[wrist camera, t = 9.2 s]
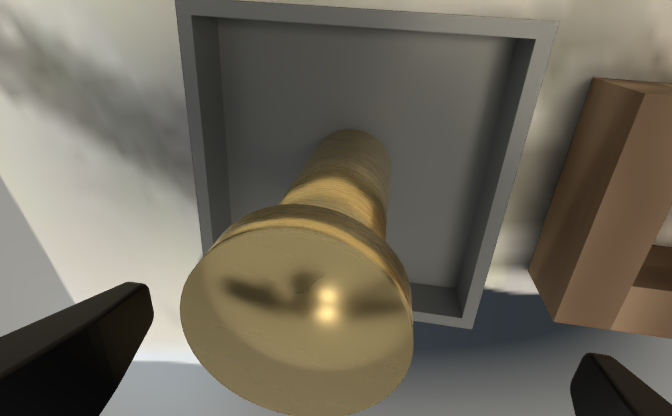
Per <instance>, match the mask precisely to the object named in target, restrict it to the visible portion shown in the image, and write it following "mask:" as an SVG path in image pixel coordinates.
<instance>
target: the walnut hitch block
mask: <svg viewBox="0 0 672 416" xmlns="http://www.w3.org/2000/svg"><path fill="white" fill-rule="evenodd" d="M671 206H672V83H659V82H646V81H633V80H621V79H608V78H595V77H593V80H592V82H591V85H590V88H589V91H588V94H587V97H586V100H585V103H584V106H583V109H582V112H581V115H580V118H579V121H578V124H577V127H576V130H575V133H574V136H573V139H572V141H571V144H570V147H569V150H568V153H567V156H566V159H565V162H564V165H563V168H562V171H561V174H560V177H559V180H558V183H557V186H556V189H555V192H554V195H553V198H552V200H551V203H550V206H549V209H548V212H547V215H546V218H545V221H544V224H543V227H542V230H541V233H540V236H539V239H538V242H537V245H536V248H535V251H534V254H533V257H532V259H531V262H530V265H529V268H528V272H529V274H530V276H531V278H532V280H533V282H534V284H535V286H536V288H537V290H538V292H539V294H540V296H541V298H542V300H543V302H544V304H545V306H546V308H547V310H548V312H549V314H550V316H551V318H552V320H553V321H554V322H559V323H566V324H573V325H580V326H587V327H594V328H601V329H608V330H615V331H622V332H629V333H636V334H643V335H650V336H657V337H664V338H671V339H672V248H671V247H662V246H654V245H652V244H653V242H654V240H655V238H656V236H657V234H658V232H659V230H660V228H661V226H662V224H663V222H664V220H665V218H666V216H667V214H668V212H669V210H670V208H671Z"/></svg>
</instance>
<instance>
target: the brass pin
mask: <svg viewBox="0 0 672 416" xmlns="http://www.w3.org/2000/svg"><path fill="white" fill-rule="evenodd" d="M390 176H391V162H390V158H389V155H388V153H387V151H386V149H385V147H384V146H383V145H382V143H381V142H380V141H379V140H378V139H376V138H375V137H374V136H372V135H371V134H369V133H367V132H364V131H361V130H357V129H342V130H338V131H335V132H332V133H331V134H329V135H327V136H326V137H324V138H323V139H322V140H321V141H320V142H319V144H318V145H317V146H316V148H315V149H314V151H313V152H312V154H311V155H310V157H309V158H308V160H307V161H306V163H305V165H304V166H303V168H302V169H301V171H300V172H299V174H298V175H297V177H296V178H295V180H294V181H293V183H292V184H291V186H290V187H289V189H288V190H287V192H286V193H285V195H284V196H283V198H282V200H281V201H280V203H279V204H278V205H275V206H270V207H265V208H262V209H259V210H256V211H253V212H251V213H249V214H247V215H245V216H243V217H241V218H240V219H239V220H237V221H236V222H234V223H233V224H232V225H231V226H230V227H229V228H228V229H227V230H225V231H224V232H223V234H222V235H221V236H220V237H219V239H218V240H217V241H216V242H215V243H214V245H213V246H212V247H211V248H210V249H209V251H208V252H207V253H206V254H205V256H204V257H203V258H202V259H201V260H200V262H199V263H198V264H197V265H196V267H195V268H194V269H193V271H192V272H191V273H190V275H189V276H188V279H187V281H186V283H185V285H184V288H183V291H182V295H181V301H180V317H181V323H182V328H183V332H184V334H185V337H186V339H187V342H188V344H189V346H190V348H191V349H192V351H193V353H194V355H195V356H196V357H197V359H198V360H199V362H200V363H201V364H202V365H203V366H204V367H205V369H206V370H207V371H208V372H209V373H210V374H211V375H212V376H213V377H214V378H215V379H216V380H218V381H219V382H220V383H221V384H223V385H224V386H225V387H227V388H228V389H229V390H231V391H232V392H234V393H235V394H237V395H239V396H240V397H242V398H244V399H246V400H248V401H250V402H252V403H254V404H256V405H259V406H261V407H264V408H266V409H269V410H273V411H276V412H280V413H283V414H288V415H293V416H345V415H348V414H353V413H357V412H359V411H362V410H365V409H367V408H369V407H371V406H373V405H375V404H377V403H379V402H380V401H382V400H383V399H385V398H386V397H387V396H389V395H390V394H391V393H392V392H393V391H394V390H395V389H396V388H397V387H398V385H399V384H400V383H401V381H402V380H403V379H404V377H405V375H406V373H407V371H408V369H409V366H410V363H411V359H412V353H413V317H412V294H411V287H410V283H409V279H408V276H407V274H406V271H405V269H404V267H403V265H402V263H401V261H400V260H399V258H398V256H397V255H396V254H395V252H394V251H393V250H392V248H391V247H390V246H389V245H388V244H387V243H386V229H387V215H388V202H389V189H390Z"/></svg>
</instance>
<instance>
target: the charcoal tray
mask: <svg viewBox="0 0 672 416" xmlns="http://www.w3.org/2000/svg"><path fill="white" fill-rule="evenodd" d="M175 6H176V15H177V24H178V33H179V42H180V51H181V60H182V69H183V78H184V87H185V96H186V105H187V114H188V123H189V132H190V141H191V150H192V159H193V168H194V177H195V186H196V195H197V204H198V213H199V222H200V231H201V240H202V249H203V257H204V256H205V254H206V253H207V252H208V251H209V249H210V248H211V247H212V246H213V245H214V243H215V242H216V241H217V240H218V239H219V237H220V236H221V235H222V234H223V232H224V231H225V230H227V229H228V228H229V227H230V226H231V225H232V224H233V223H234V222H236V221H237V220H239V219H240V218H241V217H243V216H245V215H247V214H249V213H251V212H253V211H256V210H259V209H262V208H265V207H270V206H275V205H278V204H279V203H280V201H281V200H282V198H283V196H284V195H285V193H286V192H287V190H288V189H289V187H290V186H291V184H292V183H293V181H294V180H295V178H296V177H297V175H298V174H299V172H300V171H301V169H302V168H303V166H304V165H305V163H306V161H307V160H308V158H309V157H310V155H311V154H312V152H313V151H314V149H315V148H316V146H317V145H318V144H319V142H320V141H321V140H322V139H323V138H324V137H326V136H327V135H329V134H331V133H332V132H335V131H338V130H342V129H357V130H361V131H364V132H367V133H369V134H371V135H372V136H374V137H375V138H376V139H378V140H379V141H380V142H381V143H382V145H383V146H384V147H385V149H386V151H387V153H388V155H389V158H390V162H391V176H390V189H389V202H388V215H387V229H386V243H387V244H388V245H389V246H390V247H391V248H392V250H393V251H394V252H395V254H396V255H397V256H398V258H399V260H400V261H401V263H402V265H403V267H404V269H405V271H406V274H407V276H408V279H409V283H410V287H411V294H412V317H413V321H420V322H427V323H434V324H440V325H447V326H453V327H461V328H467V329H472V327H473V323H474V320H475V316H476V313H477V309H478V305H479V302H480V298H481V295H482V292H483V288H484V285H485V281H486V278H487V274H488V271H489V267H490V264H491V260H492V257H493V253H494V250H495V246H496V243H497V239H498V236H499V232H500V229H501V225H502V222H503V218H504V214H505V211H506V207H507V204H508V200H509V197H510V193H511V190H512V186H513V183H514V179H515V176H516V172H517V169H518V165H519V162H520V158H521V155H522V151H523V148H524V144H525V141H526V137H527V134H528V130H529V127H530V123H531V120H532V116H533V113H534V109H535V105H536V102H537V98H538V95H539V91H540V88H541V84H542V81H543V77H544V74H545V70H546V67H547V63H548V60H549V56H550V53H551V49H552V46H553V42H554V39H555V35H556V32H557V28H558V25H559V21H547V20H531V19H516V18H500V17H485V16H469V15H454V14H438V13H423V12H407V11H392V10H376V9H361V8H345V7H329V6H314V5H298V4H283V3H267V2H252V1H236V0H175Z"/></svg>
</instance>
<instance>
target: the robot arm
mask: <svg viewBox="0 0 672 416" xmlns="http://www.w3.org/2000/svg"><path fill="white" fill-rule="evenodd" d="M153 317H154V311H153V306H152V301H151V296H150V291H149V288H148V287H147V285H145V284H142V283H135V282H126V283H123V284H121V285H119V286H116V287H114V288H112V289H109V290H107V291H105V292H103V293H100V294H98V295H96V296H93V297H91V298H89V299H86V300H84V301H82V302H80V303H77V304H75V305H73V306H71V307H68V308H66V309H64V310H61V311H59V312H57V313H54V314H52V315H50V316H48V317H45V318H43V319H41V320H38V321H36V322H34V323H31V324H30V325H27V326H25V327H22V328H20V329H18V330H15V331H13V332H11V333H9V334H7V335H4V336H2V337H0V416H99V415H100V413H101V412H102V410H103V409H104V407H105V406H106V404H107V403H108V401H109V400H110V398H111V397H112V395H113V394H114V392H115V390H116V389H117V387H118V385H119V384H120V382H121V380H122V378H123V377H124V375H125V373H126V371H127V369H128V367H129V365H130V363H131V362H132V360H133V358H134V356H135V354H136V352H137V351H138V349H139V347H140V345H141V343H142V341H143V339H144V337H145V336H146V334H147V332H148V330H149V328H150V326H151V324H152V321H153ZM570 393H571V397H572V402H573V406H574V411H575V415H576V416H672V405H671V404H670V403H669V402H668V401H666V400H665V399H664V398H663V397H662V396H660V395H659V394H658V393H657V392H655V391H654V390H653V389H652V388H650V387H649V386H648V385H647V384H645V383H644V382H643V381H642V380H640V379H639V378H638V377H637V376H635V375H634V374H633V373H632V372H630V371H629V370H628V369H627V368H625V367H624V366H623V365H622V364H621V363H619V362H618V361H617V360H616V359H614V358H612V357H611V356H608V355H603V354H596V353H586V354H585V355H584V356H583V358H582V359H581V361H580V363H579V366H578V368H577V370H576V372H575V374H574V377H573V378H572V381H571V385H570Z"/></svg>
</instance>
